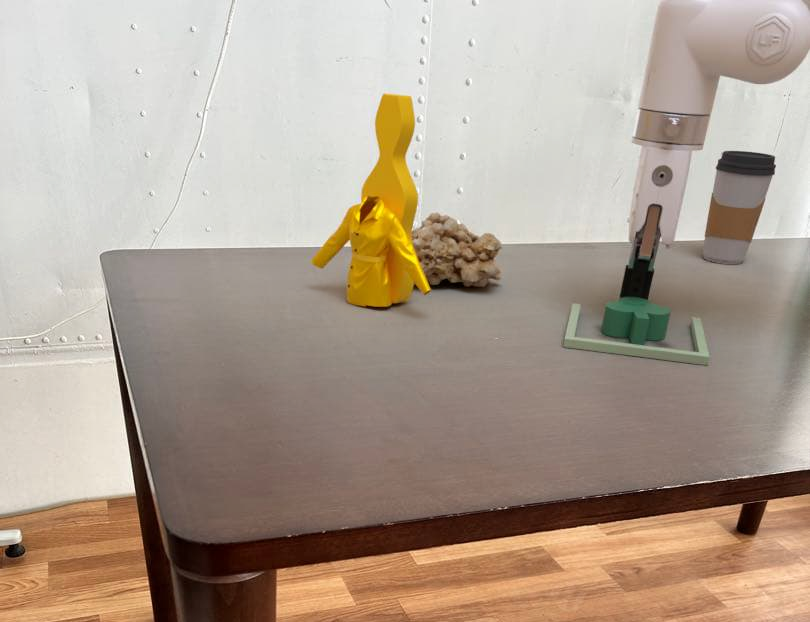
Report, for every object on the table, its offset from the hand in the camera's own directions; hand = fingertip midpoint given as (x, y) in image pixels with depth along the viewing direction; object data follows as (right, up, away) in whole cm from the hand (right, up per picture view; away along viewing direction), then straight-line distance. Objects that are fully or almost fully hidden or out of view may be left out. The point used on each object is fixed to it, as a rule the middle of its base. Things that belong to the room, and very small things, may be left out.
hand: (632, 302), depth 97 cm
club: (-1, -4, -3) cm, 5 cm away
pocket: (-1, -5, -4) cm, 7 cm away
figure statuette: (-30, 0, +2) cm, 30 cm away
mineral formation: (-21, +6, +12) cm, 25 cm away
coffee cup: (+22, +15, +31) cm, 41 cm away
